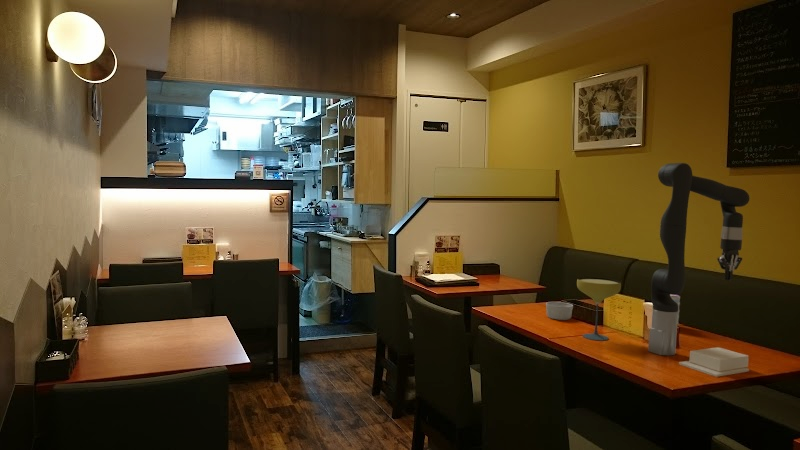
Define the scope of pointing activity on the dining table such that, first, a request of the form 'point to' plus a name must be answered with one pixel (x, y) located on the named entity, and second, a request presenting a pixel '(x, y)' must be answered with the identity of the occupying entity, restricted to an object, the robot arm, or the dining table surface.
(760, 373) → the dining table surface
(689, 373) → the dining table surface
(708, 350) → the tile
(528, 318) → the dining table surface
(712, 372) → the cutting board
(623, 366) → the dining table surface
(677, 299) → the candy box
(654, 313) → the robot arm
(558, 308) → the ramekin
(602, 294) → the cocktail glass
